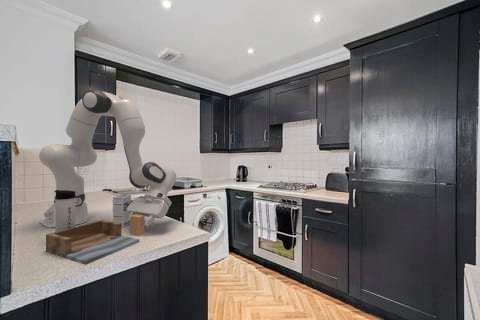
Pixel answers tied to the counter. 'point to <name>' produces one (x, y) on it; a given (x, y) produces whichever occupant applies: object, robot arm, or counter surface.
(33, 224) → the counter surface
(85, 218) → the robot arm
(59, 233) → the crate
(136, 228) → the terracotta block
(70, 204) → the travel mug
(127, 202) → the syrup box
